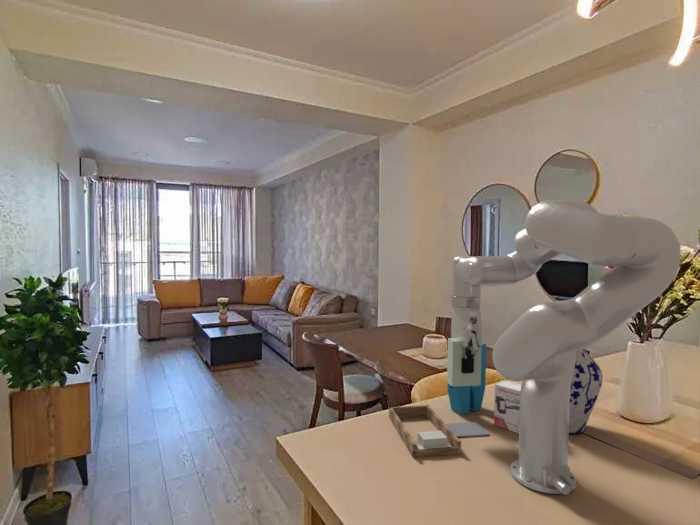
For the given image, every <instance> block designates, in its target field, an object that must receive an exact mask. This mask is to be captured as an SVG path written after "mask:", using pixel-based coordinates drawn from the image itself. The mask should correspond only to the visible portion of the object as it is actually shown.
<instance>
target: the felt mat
mask: <svg viewBox="0 0 700 525" xmlns="http://www.w3.org/2000/svg"><path fill="white" fill-rule="evenodd" d="M445 424H446V425H447V427H448V428H449V429H450V430H451V431H452V432H453V433H454V434H455V436H456V437H457V438H458V439H459V438H469V437H470V438H472V437H487V436H488V437H489V436H490V435H491V434H490V433H489V432H488V430H486V429H485V428H484V427H483V426H481V425H480V424H479V423H478V422H476V421H473V422H472V421H471V422H457V423H454V422H453V423H452V422H451V423H445Z"/></svg>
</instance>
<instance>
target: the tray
mask: <svg viewBox="0 0 700 525" xmlns="http://www.w3.org/2000/svg"><path fill="white" fill-rule="evenodd" d="M425 417H426V418H427V419H428V421H429V422H431V424H432V425H433V426H434V428H435V429H436V431H442V432H443V434H444V435H445V436H446V437H447V442H448V443H449V445H450V446H451V447H442V448H427V449H416V443H415V442H414V440H415V439H413V437H412V436H411V434H410V433H409V430H408V429H407V428H406V426H405V425H404V424H403V422H402V420H401V419H406V418H407V419H409V418H425ZM388 418H389V420H390V422H391V424H392V425H393V427H394V428H395V430H396V432H397V434H399V437H400V438H401V440H402V441H403V443H404V445H405V447H406V449H407V450H408V452H409V454H410V455H411V457H412V458H425V457H427V458H428V457H437V456H438V457H439V456H440V457H441V456H451V455H454V456H455V455H461V454H462V441H461V440H460V439H459V438H457V437H456V436H455V434H454V433H453V432H452V431H451V430H450V429H449V428H448V427H447V425H446V424H447V423H445V422H444V421H443V420H442V419H441V418H440V416H439V415H438V414H437V413H436V412H435V411H434V409H432V407H430V405H429V404H427V405H408V406H407V405H405V406H390V407H389V408H388Z"/></svg>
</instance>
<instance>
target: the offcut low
mask: <svg viewBox="0 0 700 525" xmlns="http://www.w3.org/2000/svg"><path fill="white" fill-rule="evenodd" d="M413 440H414V442H415V443H416V449H427V448H423V447H422V445H421V444H420V443H419V441H418V438H417V439H413ZM442 447H451V446H450V444H449V443H448V442H447V446H441V447H428V448H442Z"/></svg>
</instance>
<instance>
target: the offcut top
mask: <svg viewBox="0 0 700 525" xmlns="http://www.w3.org/2000/svg"><path fill="white" fill-rule="evenodd" d="M417 439H418V441H419V443H420V444H421V445H422V447H423V448H428V447H441V446H447V437H446V436H445V435H444V434H443V432H442V431H438V430H432V431H431V430H430V431H429V430H427V431H418V432H417Z"/></svg>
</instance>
